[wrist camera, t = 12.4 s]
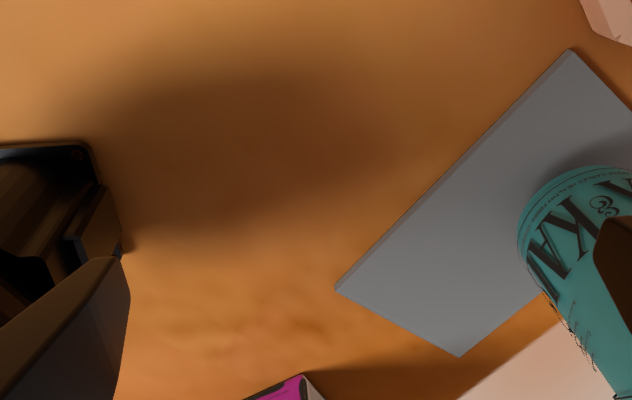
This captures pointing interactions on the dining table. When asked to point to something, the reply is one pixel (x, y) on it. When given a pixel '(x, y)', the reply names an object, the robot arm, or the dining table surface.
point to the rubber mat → (489, 212)
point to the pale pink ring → (610, 18)
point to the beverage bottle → (580, 261)
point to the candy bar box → (290, 391)
